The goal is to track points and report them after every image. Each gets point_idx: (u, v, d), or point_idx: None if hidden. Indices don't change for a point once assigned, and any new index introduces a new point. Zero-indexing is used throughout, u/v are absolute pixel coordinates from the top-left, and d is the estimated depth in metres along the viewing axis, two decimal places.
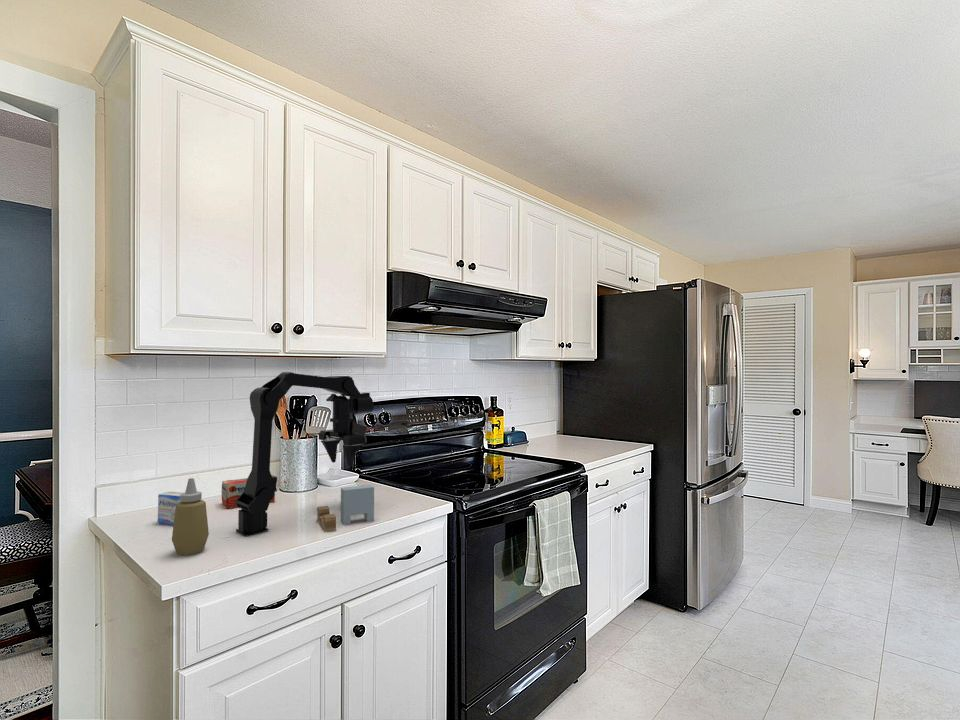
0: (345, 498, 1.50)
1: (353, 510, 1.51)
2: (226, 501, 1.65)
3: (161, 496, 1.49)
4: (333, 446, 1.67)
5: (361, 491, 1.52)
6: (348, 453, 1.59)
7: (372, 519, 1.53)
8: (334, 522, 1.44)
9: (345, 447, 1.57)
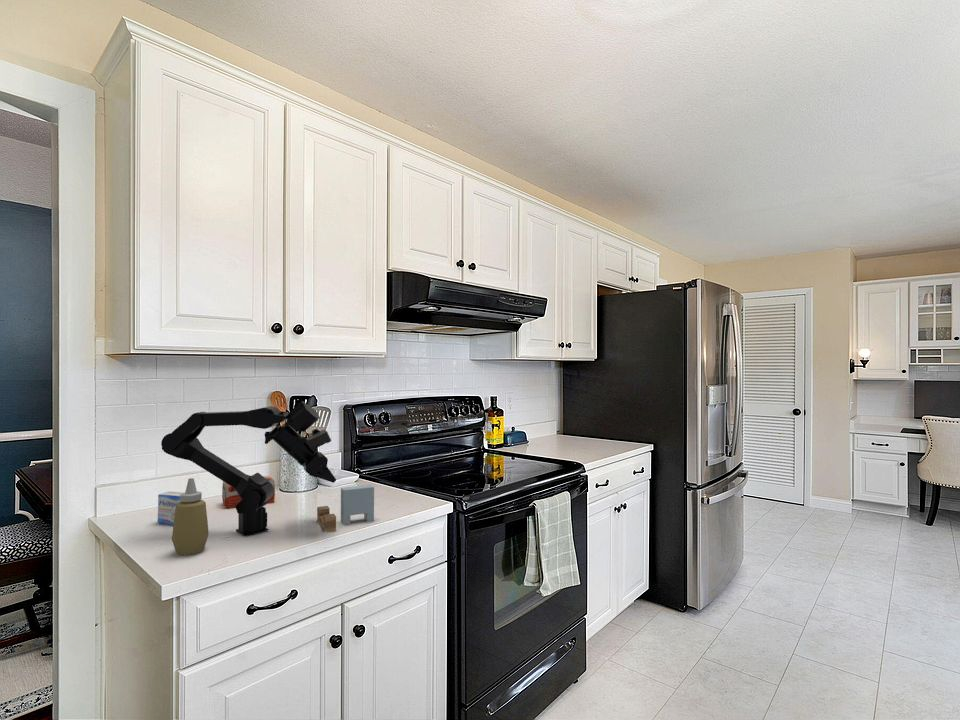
0: (345, 498, 1.50)
1: (353, 510, 1.51)
2: (225, 501, 1.65)
3: (161, 496, 1.49)
4: None
5: (361, 491, 1.52)
6: (321, 476, 1.42)
7: (372, 519, 1.53)
8: (334, 522, 1.44)
9: None
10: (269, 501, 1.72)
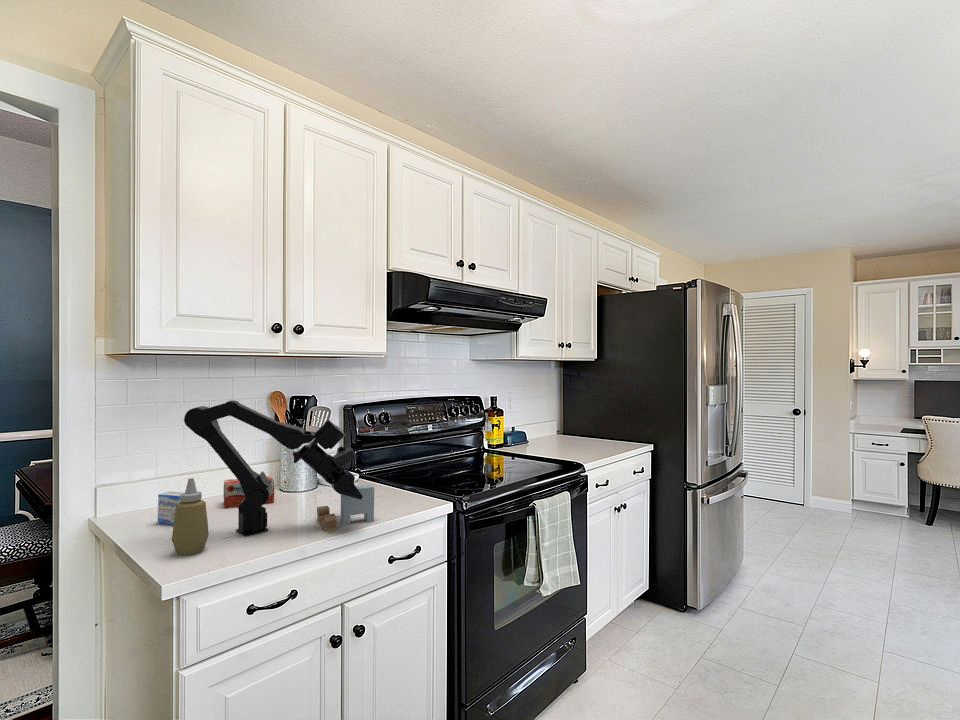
0: (345, 498, 1.50)
1: (353, 510, 1.51)
2: (224, 500, 1.66)
3: (161, 496, 1.49)
4: None
5: (361, 491, 1.52)
6: (348, 494, 1.46)
7: (372, 519, 1.53)
8: (334, 522, 1.44)
9: None
10: (268, 501, 1.71)
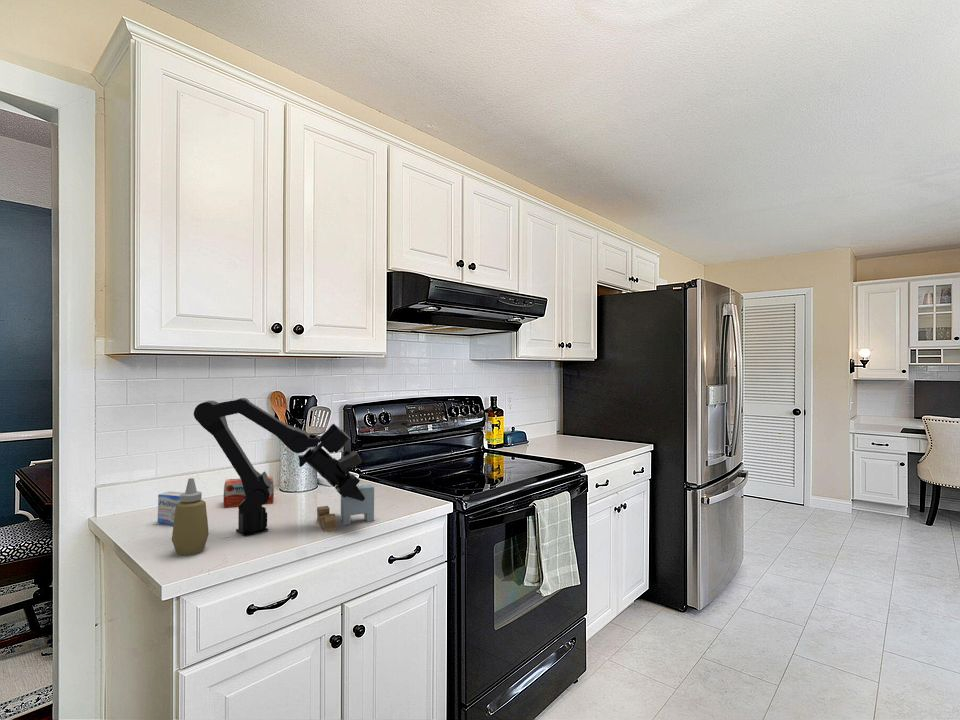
0: (345, 498, 1.50)
1: (353, 510, 1.51)
2: (224, 500, 1.66)
3: (161, 496, 1.49)
4: None
5: (361, 491, 1.52)
6: (351, 495, 1.49)
7: (372, 519, 1.53)
8: (334, 522, 1.44)
9: None
10: (268, 502, 1.71)
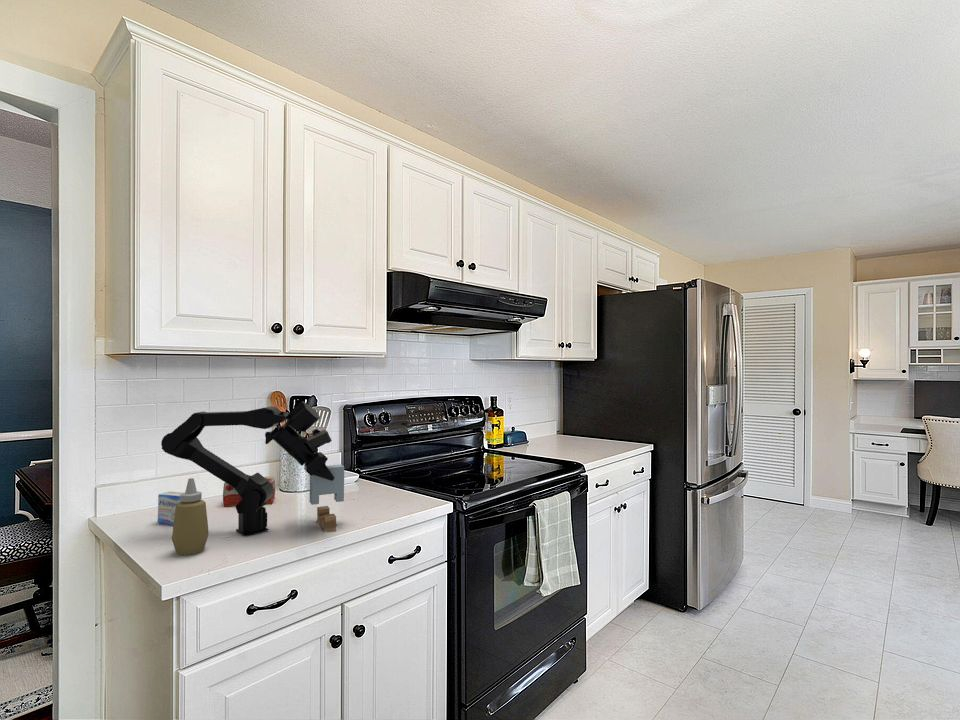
0: (314, 477, 1.46)
1: (321, 490, 1.47)
2: (223, 499, 1.67)
3: (161, 496, 1.49)
4: None
5: (330, 470, 1.48)
6: (319, 474, 1.45)
7: (342, 499, 1.49)
8: (334, 522, 1.44)
9: None
10: None
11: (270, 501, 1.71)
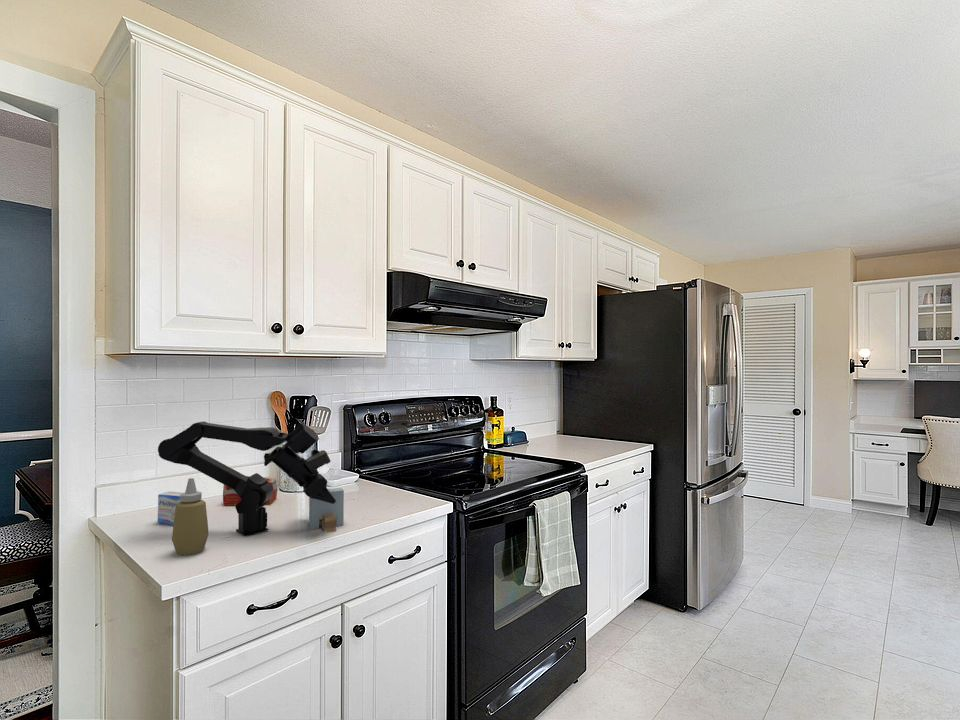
0: (313, 502, 1.45)
1: (321, 514, 1.46)
2: (223, 498, 1.69)
3: (161, 496, 1.49)
4: None
5: None
6: (320, 498, 1.42)
7: (341, 523, 1.49)
8: (334, 522, 1.44)
9: None
10: None
11: (268, 502, 1.70)
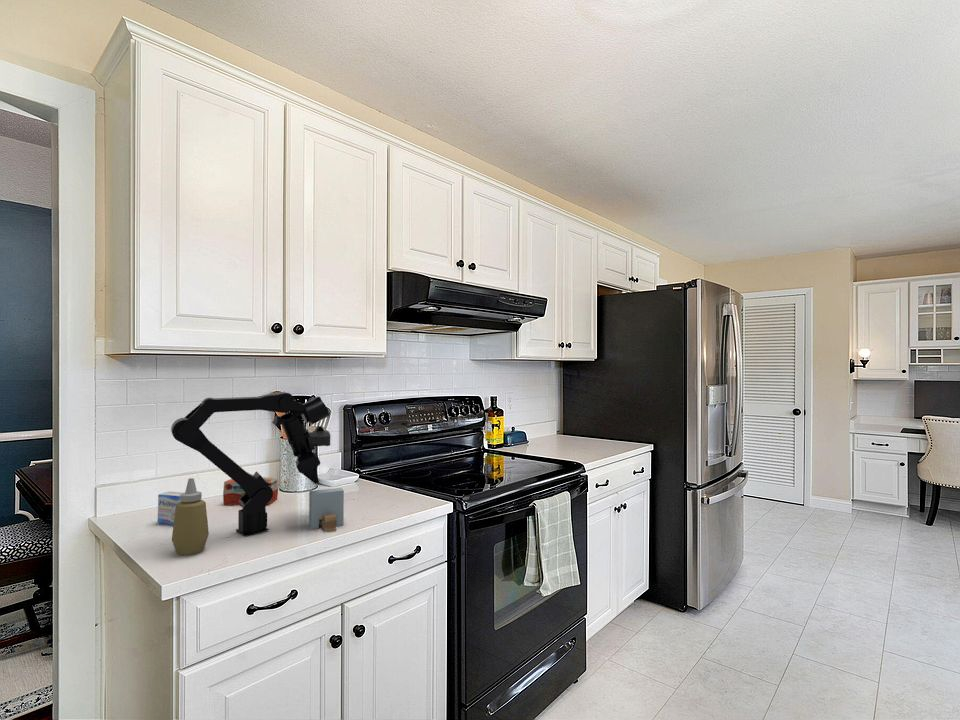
0: (313, 502, 1.45)
1: (321, 514, 1.46)
2: None
3: (161, 496, 1.49)
4: None
5: (329, 495, 1.48)
6: (307, 475, 1.48)
7: (341, 523, 1.49)
8: (334, 522, 1.44)
9: None
10: None
11: None
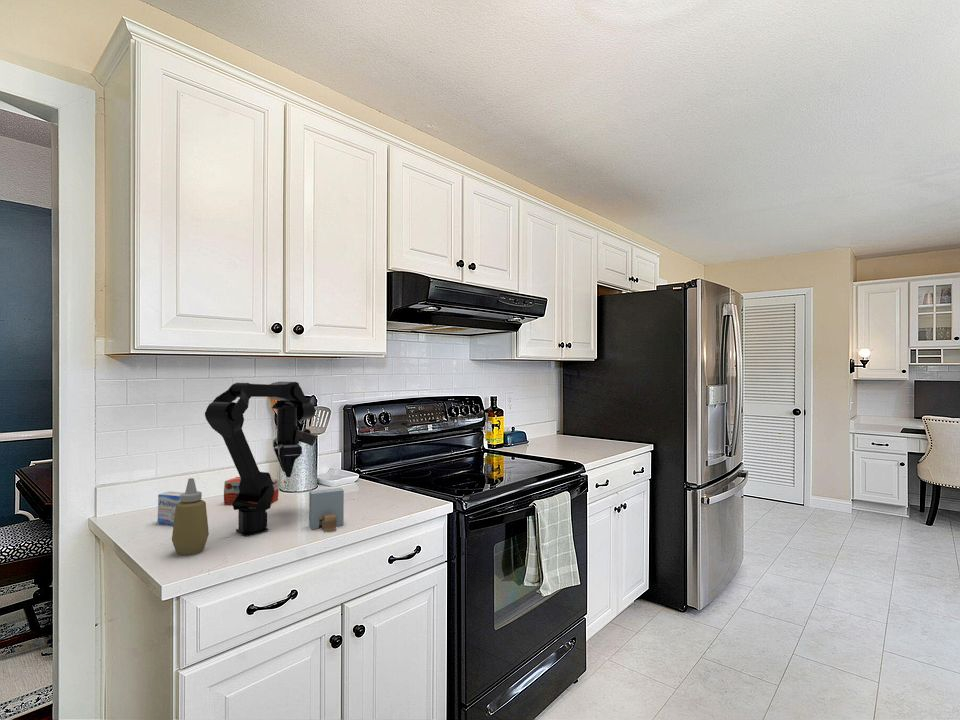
0: (313, 502, 1.45)
1: (321, 514, 1.46)
2: (224, 497, 1.70)
3: (161, 496, 1.49)
4: None
5: (329, 495, 1.48)
6: (283, 463, 1.51)
7: (341, 523, 1.49)
8: (334, 522, 1.44)
9: (279, 457, 1.50)
10: None
11: None
